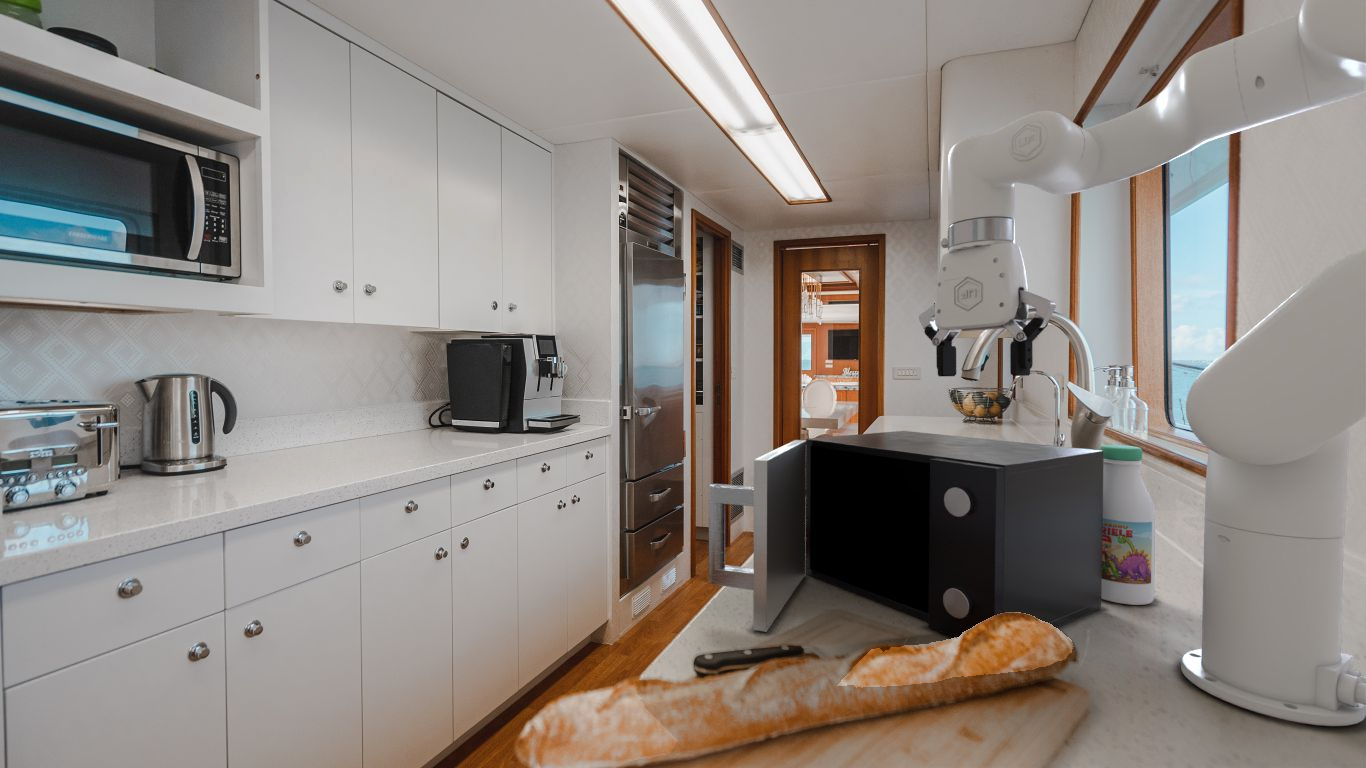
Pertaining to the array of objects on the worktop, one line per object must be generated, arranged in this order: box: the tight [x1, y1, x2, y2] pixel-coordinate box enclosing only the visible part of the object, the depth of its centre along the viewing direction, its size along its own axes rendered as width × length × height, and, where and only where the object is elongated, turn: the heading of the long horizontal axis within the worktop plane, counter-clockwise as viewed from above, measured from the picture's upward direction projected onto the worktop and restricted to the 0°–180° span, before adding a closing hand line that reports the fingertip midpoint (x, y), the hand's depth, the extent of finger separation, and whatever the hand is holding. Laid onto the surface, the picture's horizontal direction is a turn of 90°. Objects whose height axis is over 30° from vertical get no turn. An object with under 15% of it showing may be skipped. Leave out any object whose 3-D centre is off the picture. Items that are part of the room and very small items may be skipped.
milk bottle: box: [1099, 444, 1157, 606], centre depth 83 cm, size 8×8×20 cm
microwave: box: [805, 430, 1104, 639], centre depth 85 cm, size 24×30×20 cm
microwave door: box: [708, 439, 807, 633], centre depth 83 cm, size 8×22×20 cm, turn 157°
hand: (981, 375), depth 78 cm, fingers open, 9 cm apart
